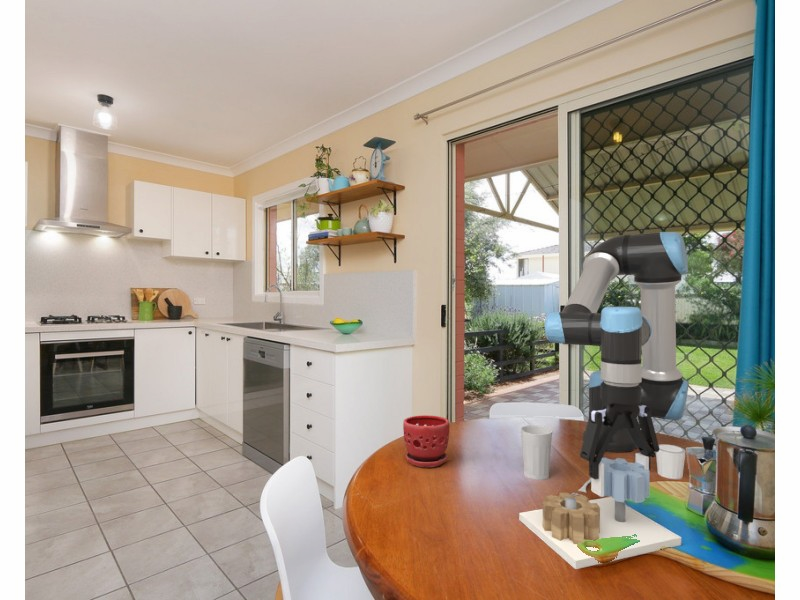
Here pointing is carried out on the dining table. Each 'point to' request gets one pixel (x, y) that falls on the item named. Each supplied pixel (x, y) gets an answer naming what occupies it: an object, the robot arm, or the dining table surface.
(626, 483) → the gear
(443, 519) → the dining table surface
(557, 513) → the gear
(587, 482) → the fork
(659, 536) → the gear board
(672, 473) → the short white tumbler
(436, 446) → the plant pot
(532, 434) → the cup
